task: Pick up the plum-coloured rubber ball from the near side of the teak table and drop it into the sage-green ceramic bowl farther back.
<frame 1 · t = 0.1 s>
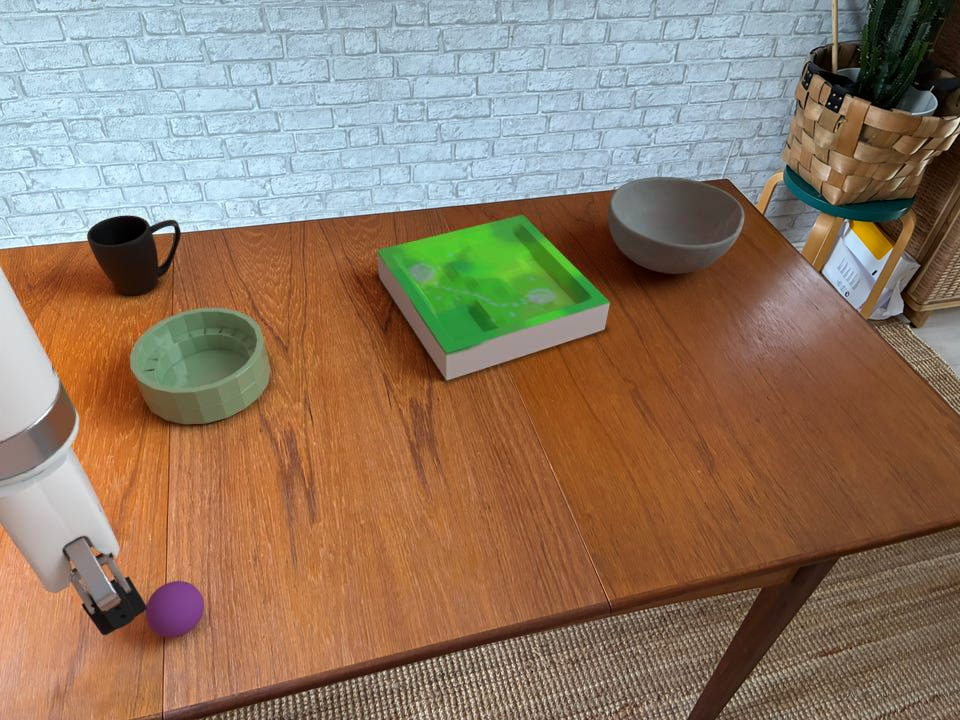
hand: (99, 573, 53), 16 cm above the table, tool pointing down, fingers open, 9 cm apart
green bowl: (208, 381, 91), on the table
bowl: (663, 260, 115), on the table
tray: (487, 303, 105), on the table
ball: (181, 621, 67), on the table
mug: (152, 282, 106), on the table
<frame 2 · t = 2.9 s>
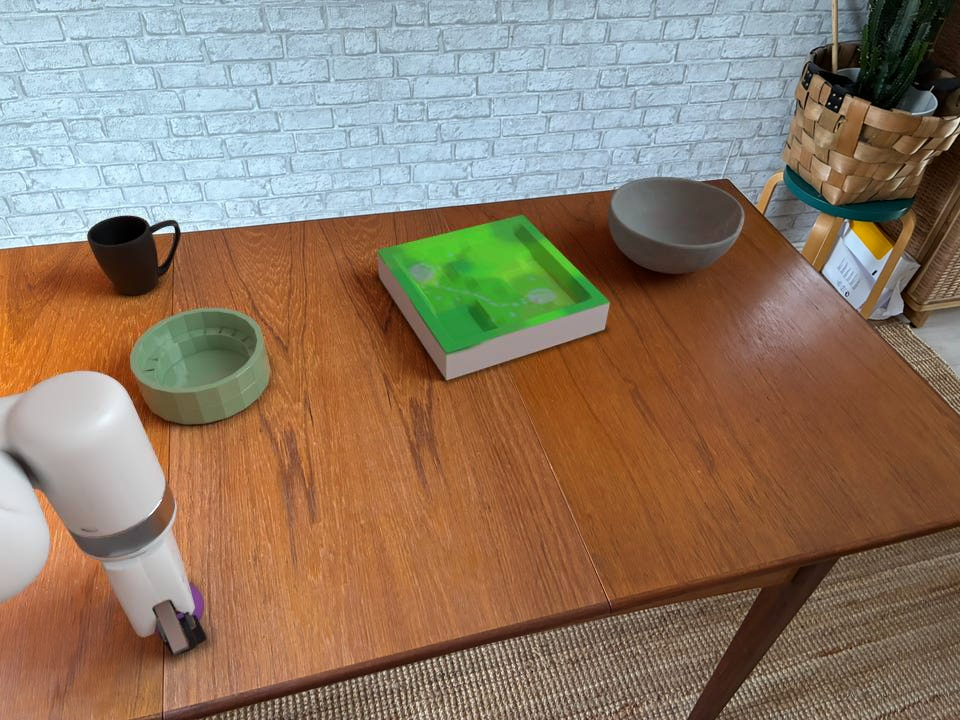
hand: (181, 619, 67), 0 cm above the table, tool pointing down, fingers closed on ball, 4 cm apart
ball: (182, 621, 67), on the table, touching gripper
everything else where it was.
when the fingers open (4 cm above the table, at t = 10.7 s): ball drops 3 cm, resting on green bowl.
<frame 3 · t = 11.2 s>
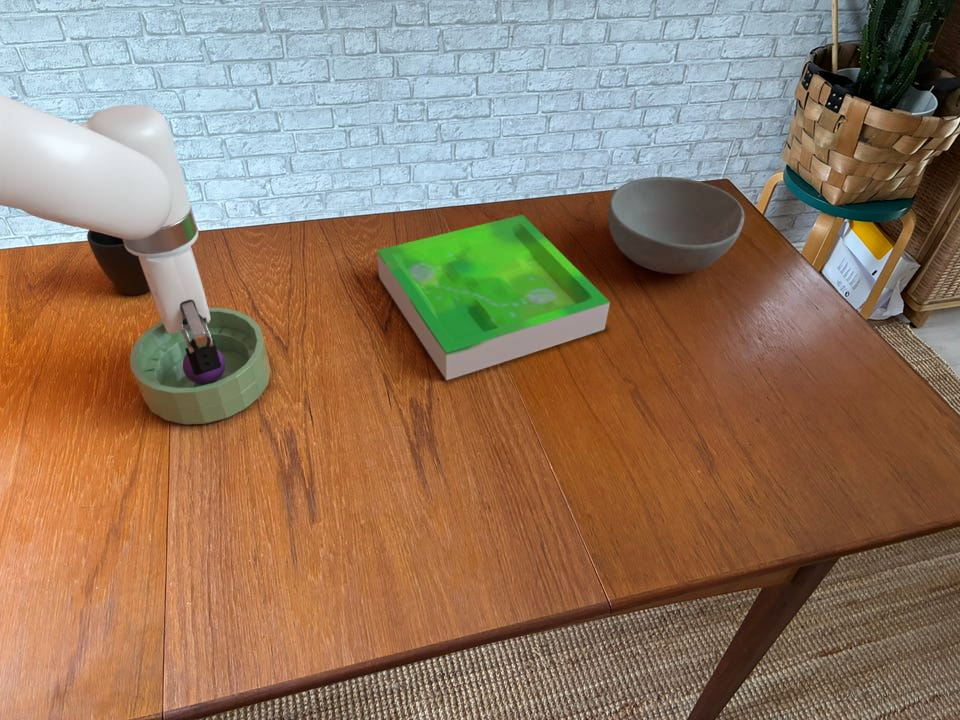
hand: (196, 346, 87), 6 cm above the table, tool pointing down, fingers open, 9 cm apart
ball: (208, 378, 91), resting on green bowl
everything else where it was.
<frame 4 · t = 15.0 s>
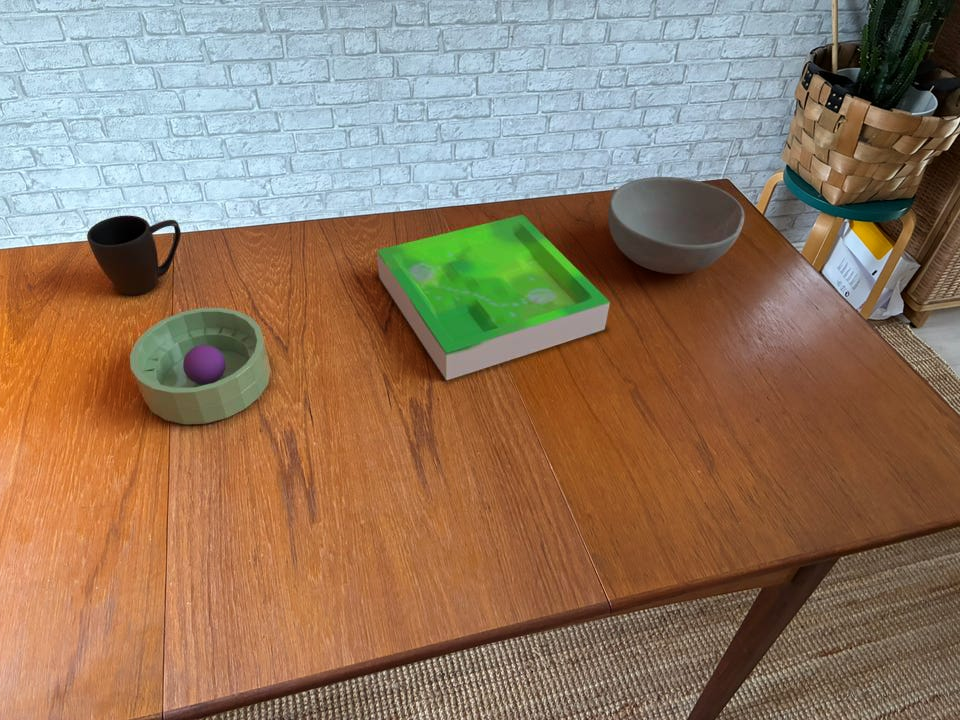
nothing on the table moved.
at the end: ball inside the target area in the green bowl (0.1 cm from its centre), point 0.5 cm above the green bowl's base; the gripper is holding nothing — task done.
